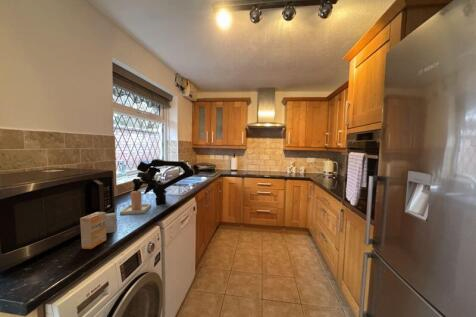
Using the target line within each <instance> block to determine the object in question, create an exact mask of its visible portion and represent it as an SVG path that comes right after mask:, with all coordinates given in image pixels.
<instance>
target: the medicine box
mask: <svg viewBox="0 0 476 317" xmlns="http://www.w3.org/2000/svg"><path fill="white" fill-rule="evenodd" d="M105 220H106V234H111V233H115V232H117V230H118V222H117V213H116V212H111V213H105Z"/></svg>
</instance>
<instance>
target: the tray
mask: <svg viewBox="0 0 476 317" xmlns="http://www.w3.org/2000/svg"><path fill="white" fill-rule="evenodd" d="M151 207H152V203H142V209H141V210H134V211H132V206H131V204H128V205H127V206H125V207H124V208H123V209H121V210H120V211H119V216H120V215H121V216H123V215H139V214H146V213H147V212H148V211H149V209H151Z"/></svg>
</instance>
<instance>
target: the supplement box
mask: <svg viewBox="0 0 476 317" xmlns="http://www.w3.org/2000/svg"><path fill="white" fill-rule="evenodd" d="M105 214H106V212H105V211H96V212H93V213H90V214H88V215H86V216H83V217H80V218H79V224H80V239H81V240H80V241H81V242H80V243H81V249H83V250H85V249H86V250H92V249H94V248H95V247H97V246H98V245H101V244H102V243H104V242H106V241H107V233H106V220H105Z"/></svg>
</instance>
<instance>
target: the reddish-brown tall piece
mask: <svg viewBox="0 0 476 317" xmlns="http://www.w3.org/2000/svg"><path fill="white" fill-rule="evenodd" d="M130 202H131V204H130V205H131V206H132V211H134V210H141V209H142V204H143V203H142V191H141V190H137V191H134V190H132V191H130Z"/></svg>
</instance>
